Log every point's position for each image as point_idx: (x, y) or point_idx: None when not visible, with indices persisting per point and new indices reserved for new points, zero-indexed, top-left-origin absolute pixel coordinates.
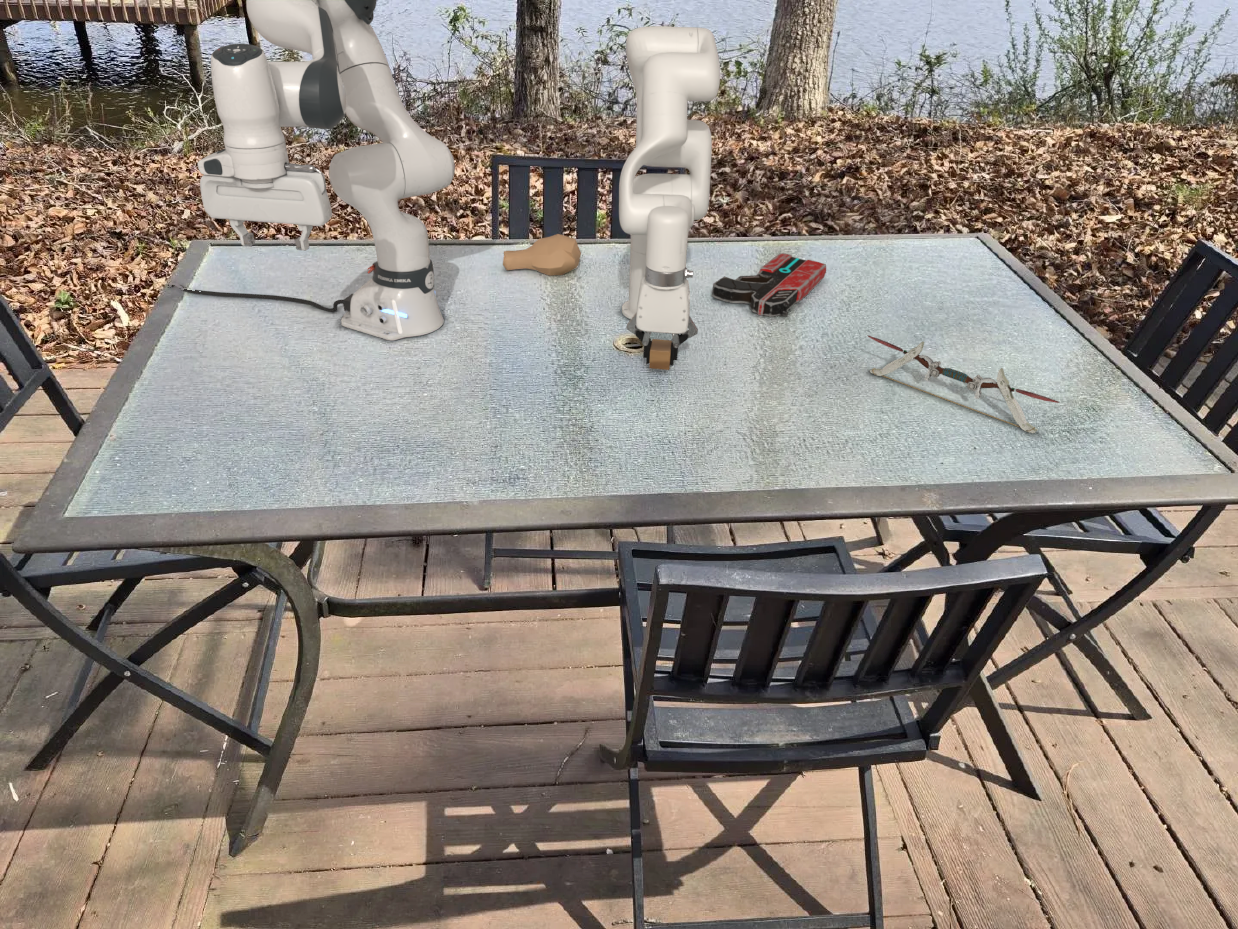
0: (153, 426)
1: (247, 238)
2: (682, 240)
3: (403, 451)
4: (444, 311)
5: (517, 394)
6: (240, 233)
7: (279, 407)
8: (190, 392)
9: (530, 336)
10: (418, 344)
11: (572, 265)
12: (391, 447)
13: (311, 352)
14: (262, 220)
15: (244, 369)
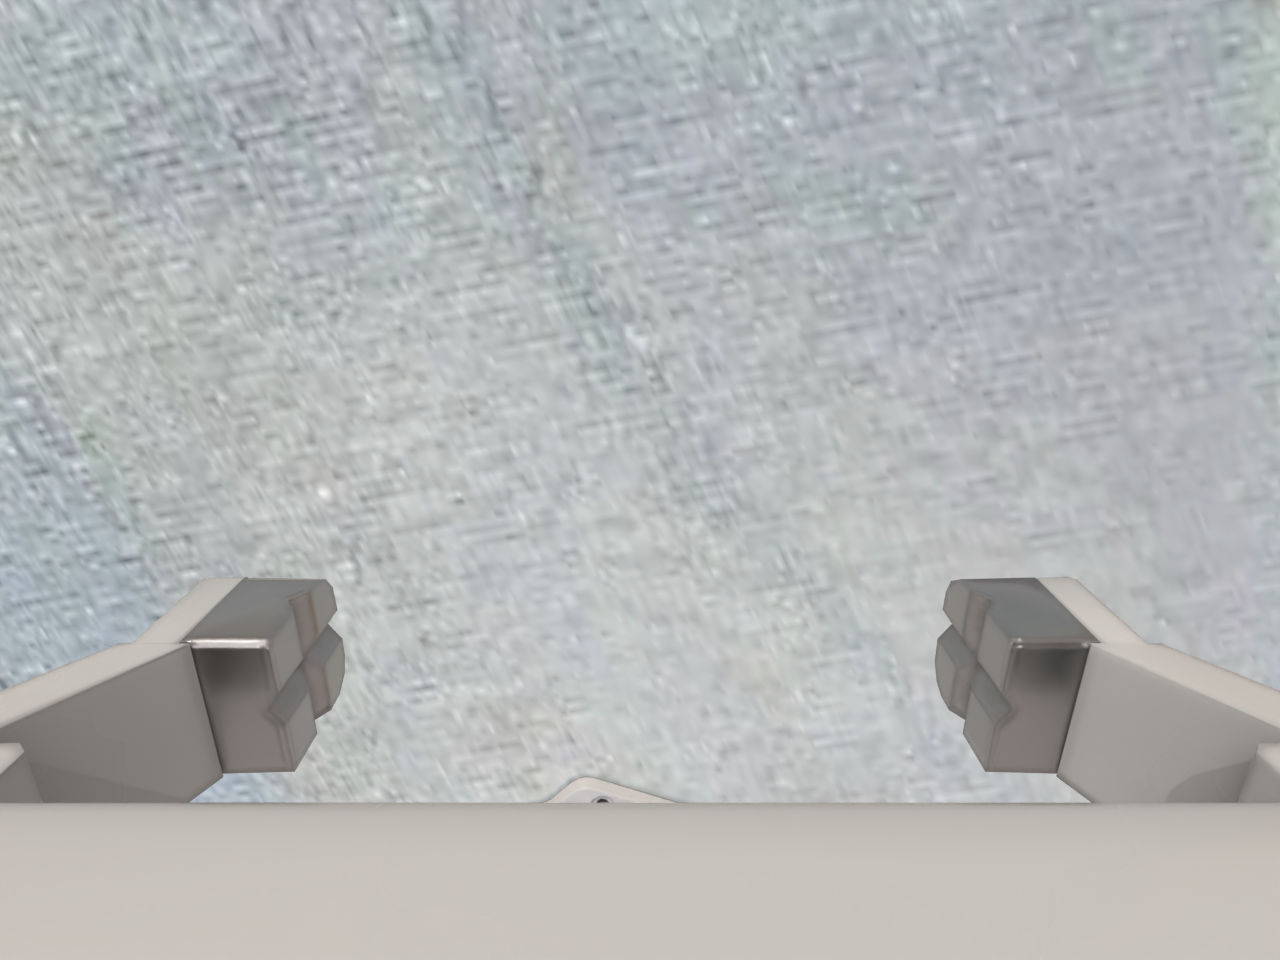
0: (1161, 108)
1: (1013, 626)
2: None
3: (203, 111)
4: None
5: (42, 544)
6: (1148, 662)
7: (762, 324)
8: (1108, 365)
9: None
10: (494, 771)
11: None
12: (258, 130)
13: (802, 675)
14: (697, 811)
15: (978, 540)
